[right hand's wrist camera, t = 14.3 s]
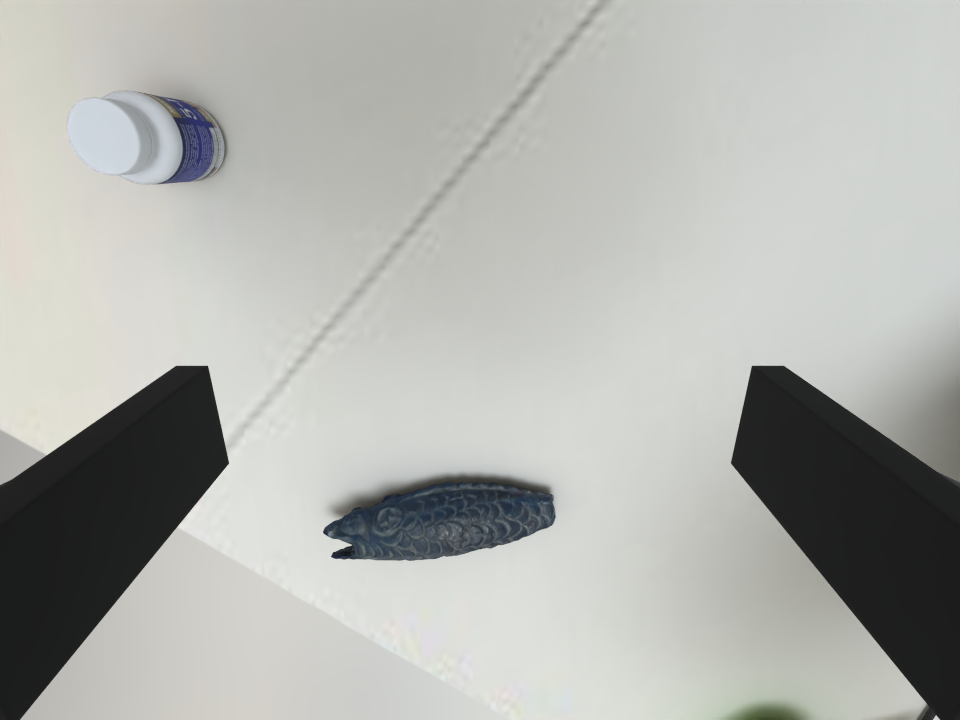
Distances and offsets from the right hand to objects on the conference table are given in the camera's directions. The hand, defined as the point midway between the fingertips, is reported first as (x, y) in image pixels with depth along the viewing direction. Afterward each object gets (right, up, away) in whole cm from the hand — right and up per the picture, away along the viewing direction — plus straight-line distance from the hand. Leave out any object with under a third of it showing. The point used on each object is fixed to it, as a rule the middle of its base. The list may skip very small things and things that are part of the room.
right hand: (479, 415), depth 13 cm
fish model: (-3, -13, +36) cm, 38 cm away
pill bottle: (-21, +17, +24) cm, 36 cm away
